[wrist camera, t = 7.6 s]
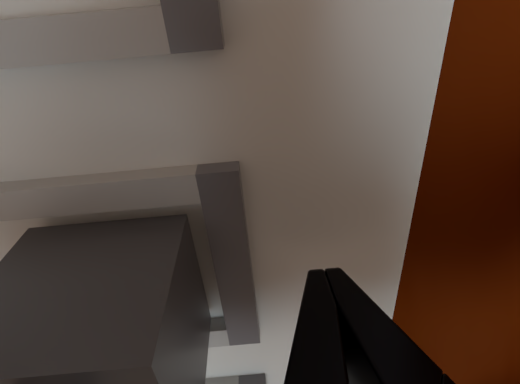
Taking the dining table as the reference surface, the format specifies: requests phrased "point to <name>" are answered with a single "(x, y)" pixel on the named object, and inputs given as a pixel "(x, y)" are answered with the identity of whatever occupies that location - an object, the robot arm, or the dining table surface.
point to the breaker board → (227, 142)
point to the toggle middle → (104, 305)
